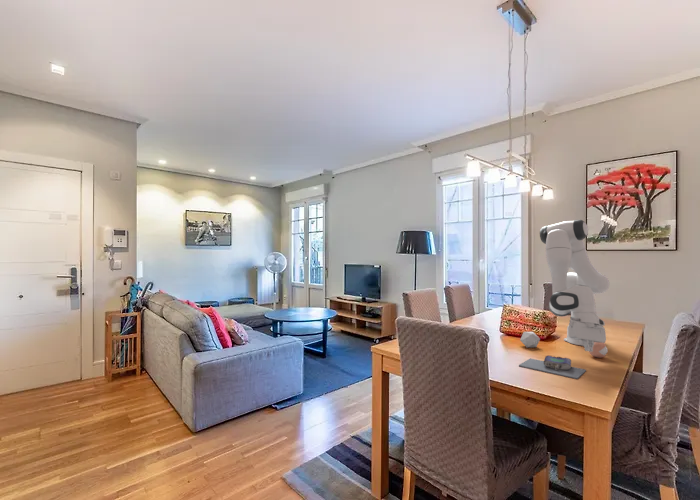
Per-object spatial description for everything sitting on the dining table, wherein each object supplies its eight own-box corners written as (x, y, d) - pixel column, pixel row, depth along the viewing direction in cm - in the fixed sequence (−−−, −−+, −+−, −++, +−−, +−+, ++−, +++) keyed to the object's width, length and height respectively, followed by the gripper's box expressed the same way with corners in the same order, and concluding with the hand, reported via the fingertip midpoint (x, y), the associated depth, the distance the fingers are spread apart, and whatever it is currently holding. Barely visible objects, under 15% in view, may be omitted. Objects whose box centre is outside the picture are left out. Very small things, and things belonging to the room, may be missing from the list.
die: (538, 351, 175) (544, 334, 178) (522, 342, 176) (529, 326, 180) (530, 352, 182) (536, 336, 186) (515, 344, 184) (521, 328, 187)
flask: (571, 358, 149) (570, 365, 139) (571, 365, 149) (570, 373, 139) (545, 354, 154) (542, 361, 145) (545, 361, 154) (542, 368, 145)
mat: (530, 359, 159) (530, 358, 159) (586, 370, 143) (586, 369, 143) (518, 366, 149) (518, 365, 149) (577, 379, 133) (577, 378, 133)
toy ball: (608, 360, 156) (608, 343, 157) (588, 358, 161) (587, 341, 161) (606, 356, 163) (606, 339, 163) (587, 354, 167) (586, 337, 168)
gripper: (576, 316, 150) (580, 349, 146) (607, 322, 157) (611, 353, 153) (563, 317, 156) (566, 348, 152) (593, 323, 163) (596, 353, 159)
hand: (589, 351), depth 153 cm, fingers closed
